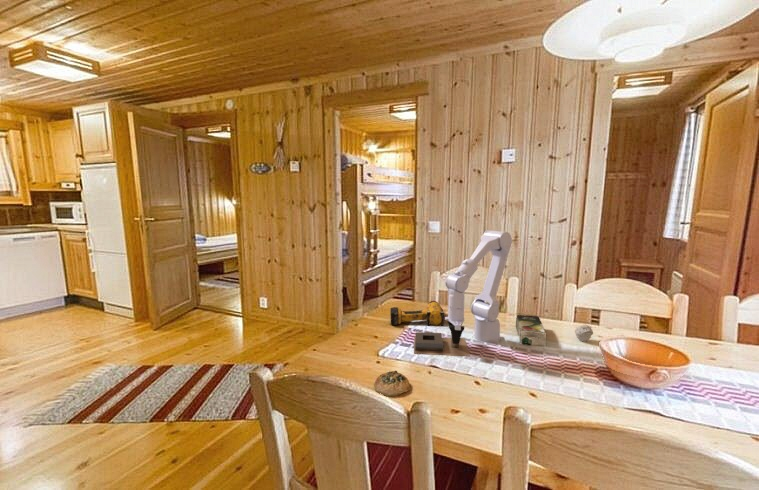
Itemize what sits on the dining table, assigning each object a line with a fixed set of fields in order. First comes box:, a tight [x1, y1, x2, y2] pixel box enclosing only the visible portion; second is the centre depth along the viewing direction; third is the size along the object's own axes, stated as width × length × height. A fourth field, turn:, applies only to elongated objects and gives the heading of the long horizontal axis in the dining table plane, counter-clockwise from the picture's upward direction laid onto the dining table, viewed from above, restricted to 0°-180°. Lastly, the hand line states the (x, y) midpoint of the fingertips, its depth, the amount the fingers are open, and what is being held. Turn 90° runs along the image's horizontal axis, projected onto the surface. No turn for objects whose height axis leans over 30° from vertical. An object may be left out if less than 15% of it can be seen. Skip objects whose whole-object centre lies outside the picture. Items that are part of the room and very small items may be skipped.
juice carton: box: [515, 314, 547, 347], centre depth 145 cm, size 20×10×6 cm, turn 164°
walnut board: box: [413, 335, 471, 357], centre depth 134 cm, size 20×16×1 cm
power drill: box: [390, 300, 446, 327], centre depth 168 cm, size 7×24×25 cm
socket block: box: [414, 331, 443, 352], centre depth 135 cm, size 10×10×3 cm
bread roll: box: [373, 370, 411, 397], centre depth 107 cm, size 11×11×5 cm
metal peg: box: [450, 333, 459, 348], centre depth 133 cm, size 3×3×7 cm
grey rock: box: [574, 324, 594, 342], centre depth 140 cm, size 6×7×7 cm
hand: (455, 341), depth 133 cm, fingers closed on metal peg, 3 cm apart
